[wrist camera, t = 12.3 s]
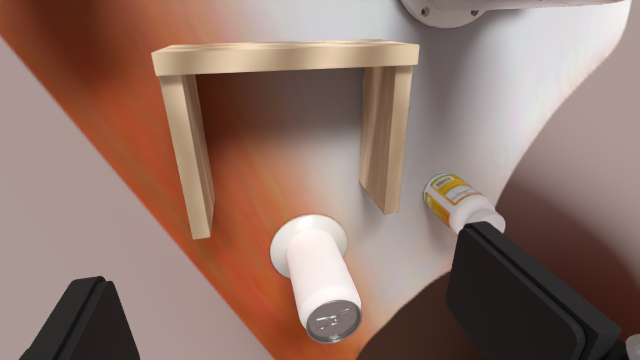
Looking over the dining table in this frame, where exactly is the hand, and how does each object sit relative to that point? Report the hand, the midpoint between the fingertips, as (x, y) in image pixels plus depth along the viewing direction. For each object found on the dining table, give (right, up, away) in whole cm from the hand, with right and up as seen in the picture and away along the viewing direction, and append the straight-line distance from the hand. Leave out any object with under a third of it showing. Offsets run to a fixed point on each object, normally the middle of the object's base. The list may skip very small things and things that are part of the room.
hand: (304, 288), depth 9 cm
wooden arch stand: (-3, +8, +27) cm, 29 cm away
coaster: (-1, -6, +34) cm, 35 cm away
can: (-1, -6, +34) cm, 35 cm away
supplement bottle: (+16, +2, +36) cm, 39 cm away
